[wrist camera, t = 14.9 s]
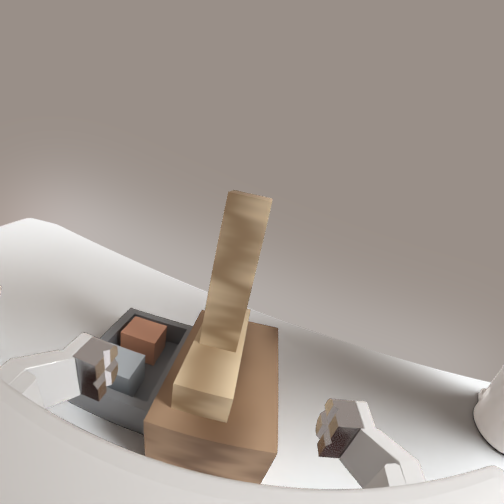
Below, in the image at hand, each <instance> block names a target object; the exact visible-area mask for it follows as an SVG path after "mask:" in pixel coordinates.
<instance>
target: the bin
mask: <svg viewBox="0 0 504 504" xmlns="http://www.w3.org/2000/svg"><path fill="white" fill-rule="evenodd" d="M135 316H137V317H140V318H143V319H146V320H149V321H152V322H156V323H159V324H162V325H166V326H167V332H166V342H165V348H164V349H163V351H162V353H161V354H160V356H159V357H158V359H157V361H156V362H155V364H154V366H153V365H150V364H147V363H145V378H144V380H143V381H142V383H141V384H140V386H139V388H138V389H137V391H136V393H135V394H134V396H133V397H131V396H129V395H126V394H123V393H121V392H118V391H116V390H113V389H111V388H108V387H106V389H107V392H106V393H105V395H104V396H103V397H102V399H101V400H100V401H99V402H98V401H96V400H94V399H91V398H89V397H87V396H85V395H82V394H80V395H79V396H76V397H74V398H72V399H69V402H70V403H72V404H74V405H76V406H78V407H80V408H82V409H84V410H86V411H88V412H90V413H92V414H95V415H97V416H99V417H101V418H103V419H106V420H108V421H110V422H113V423H115V424H118V425H120V426H122V427H125V428H128V429H130V430H133V431H135V432H138V433H141V434H144V419H145V417H146V415H147V413H148V411H149V409H150V407H151V405H152V403H153V401H154V399H155V397H156V396H157V394H158V392H159V390H160V388H161V386H162V384H163V382H164V380H165V378H166V376H167V375H168V373H169V371H170V369H171V367H172V365H173V363H174V361H175V359H176V357H177V356H178V354H179V352H180V350H181V348H182V346H183V344H184V342H185V341H186V339H187V337H188V335H189V333H190V331H191V329H192V327H193V326H190V325H186V324H183V323H179V322H175V321H172V320H169V319H165V318H162V317H159V316H155V315H152V314H149V313H145V312H142V311H139V310H136V309H133V308H130V309H129V310H128V311H127V312H126V313H125V314H124V315H123V316H122V317H121V318H120V319H119V320H118V321H117V322H116V323H115V324H114V325H113V326H112V327H111V328H110V329H109V330H108V331H107V332H106V333H105V334H104V335H103V336H102V337H101V338H100V339H102V340H104V341H106V342H109V343H113V344H115V345H118V346H121V331H122V330H123V329H124V328H125V327H126V326H127V325H128V324H129V323H130V322H131V321H132V319H133V318H134V317H135Z"/></svg>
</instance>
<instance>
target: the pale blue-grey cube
mask: <svg viewBox="0 0 504 504" xmlns="http://www.w3.org/2000/svg"><path fill="white" fill-rule="evenodd" d="M111 344H113V343H111ZM113 345H115V344H113ZM116 346H117V348H118V355H117V356H116V357H115V359H116V361H117V362H118V373H117V376H116V379H115V381H114V382H113V384H112V385H109V386H106V387H108V388H111V389H113V390H116V391H118V392H121V393H123V394H126V395H129V396H131V397H133V396H134V394H135V393H136V391H137V389H138V388H139V386H140V384H141V383H142V381H143V380H144V378H145V355H143V354H140V353H137V352H134V351H132V350H129V349H126V348H123V347H121V346H118V345H116Z"/></svg>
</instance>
